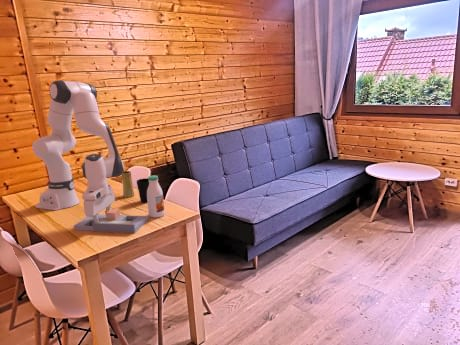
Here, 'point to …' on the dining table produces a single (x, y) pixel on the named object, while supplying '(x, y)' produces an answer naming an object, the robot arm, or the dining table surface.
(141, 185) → the cup
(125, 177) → the vase
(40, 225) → the dining table surface
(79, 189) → the dining table surface
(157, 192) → the milk bottle
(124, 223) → the board
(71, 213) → the dining table surface
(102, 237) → the dining table surface
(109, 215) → the block
